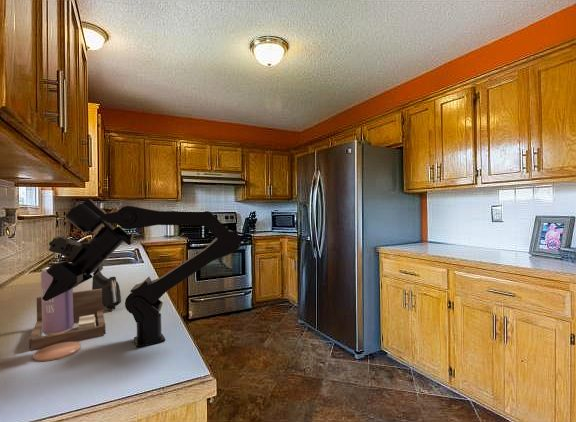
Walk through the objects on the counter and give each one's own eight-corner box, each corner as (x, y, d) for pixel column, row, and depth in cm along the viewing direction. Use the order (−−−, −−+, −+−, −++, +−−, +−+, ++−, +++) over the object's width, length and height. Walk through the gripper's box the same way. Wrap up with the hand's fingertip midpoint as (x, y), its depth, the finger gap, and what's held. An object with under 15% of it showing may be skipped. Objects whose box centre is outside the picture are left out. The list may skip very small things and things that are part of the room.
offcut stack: (96, 335, 84) (96, 322, 84) (78, 339, 82) (78, 325, 82) (95, 325, 92) (95, 312, 92) (79, 328, 90) (79, 315, 90)
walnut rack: (105, 335, 83) (105, 301, 83) (28, 351, 74) (27, 313, 74) (102, 316, 98) (101, 288, 98) (37, 328, 90) (37, 297, 90)
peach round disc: (80, 353, 72) (80, 351, 72) (30, 365, 67) (30, 362, 67) (81, 341, 80) (81, 338, 80) (36, 350, 75) (36, 347, 75)
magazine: (90, 273, 127) (106, 258, 106) (99, 271, 130) (117, 257, 108) (93, 315, 124) (111, 309, 102) (103, 313, 126) (122, 307, 105)
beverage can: (79, 326, 76) (77, 265, 76) (60, 335, 70) (58, 269, 70) (56, 326, 77) (55, 265, 77) (35, 335, 71) (33, 270, 71)
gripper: (88, 223, 84) (41, 267, 81) (56, 225, 66) (-6, 283, 63) (121, 250, 86) (77, 294, 83) (99, 260, 68) (41, 317, 65)
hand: (50, 296), depth 73 cm, fingers closed on beverage can, 6 cm apart
